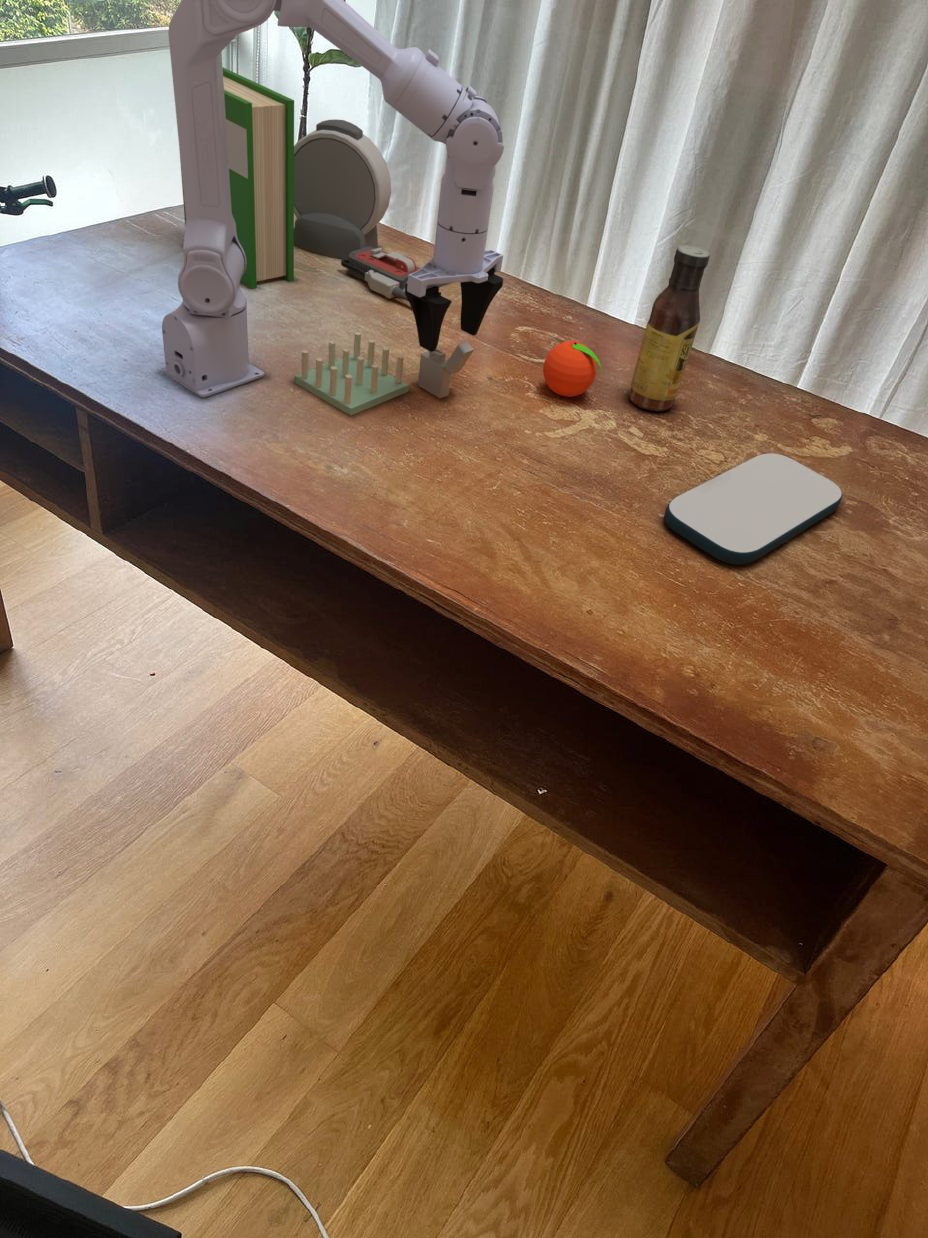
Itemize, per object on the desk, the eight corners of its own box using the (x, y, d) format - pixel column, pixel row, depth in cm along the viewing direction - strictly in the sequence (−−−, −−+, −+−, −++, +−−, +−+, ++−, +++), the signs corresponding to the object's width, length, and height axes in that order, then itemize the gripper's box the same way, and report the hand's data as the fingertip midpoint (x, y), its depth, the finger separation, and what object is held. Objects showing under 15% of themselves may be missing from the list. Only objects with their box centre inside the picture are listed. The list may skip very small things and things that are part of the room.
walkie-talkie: (330, 273, 137) (429, 320, 129) (330, 244, 134) (433, 290, 126) (368, 261, 143) (466, 305, 135) (370, 233, 140) (470, 276, 132)
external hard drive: (735, 576, 93) (742, 561, 91) (650, 520, 98) (655, 505, 97) (847, 506, 106) (854, 492, 105) (765, 460, 112) (771, 446, 110)
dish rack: (350, 415, 106) (352, 381, 103) (294, 382, 111) (294, 348, 108) (408, 391, 113) (411, 358, 110) (352, 361, 117) (354, 328, 114)
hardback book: (293, 280, 134) (294, 100, 118) (251, 288, 129) (245, 103, 113) (228, 239, 142) (220, 65, 126) (186, 246, 138) (173, 67, 122)
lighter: (416, 384, 114) (423, 325, 109) (426, 381, 115) (432, 322, 110) (457, 408, 111) (465, 348, 106) (466, 404, 112) (475, 344, 107)
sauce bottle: (672, 418, 117) (720, 266, 104) (625, 407, 117) (667, 255, 104) (673, 395, 122) (720, 247, 108) (628, 385, 122) (669, 237, 109)
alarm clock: (392, 246, 149) (401, 126, 137) (371, 266, 141) (379, 140, 129) (302, 225, 151) (303, 104, 139) (276, 243, 143) (275, 117, 131)
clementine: (606, 396, 119) (619, 346, 114) (582, 415, 114) (594, 363, 109) (554, 375, 121) (565, 325, 117) (528, 392, 117) (539, 341, 112)
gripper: (446, 248, 93) (432, 368, 102) (529, 224, 102) (510, 337, 111) (397, 226, 96) (388, 345, 105) (483, 205, 105) (468, 316, 114)
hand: (448, 339), depth 108 cm, fingers open, 7 cm apart
